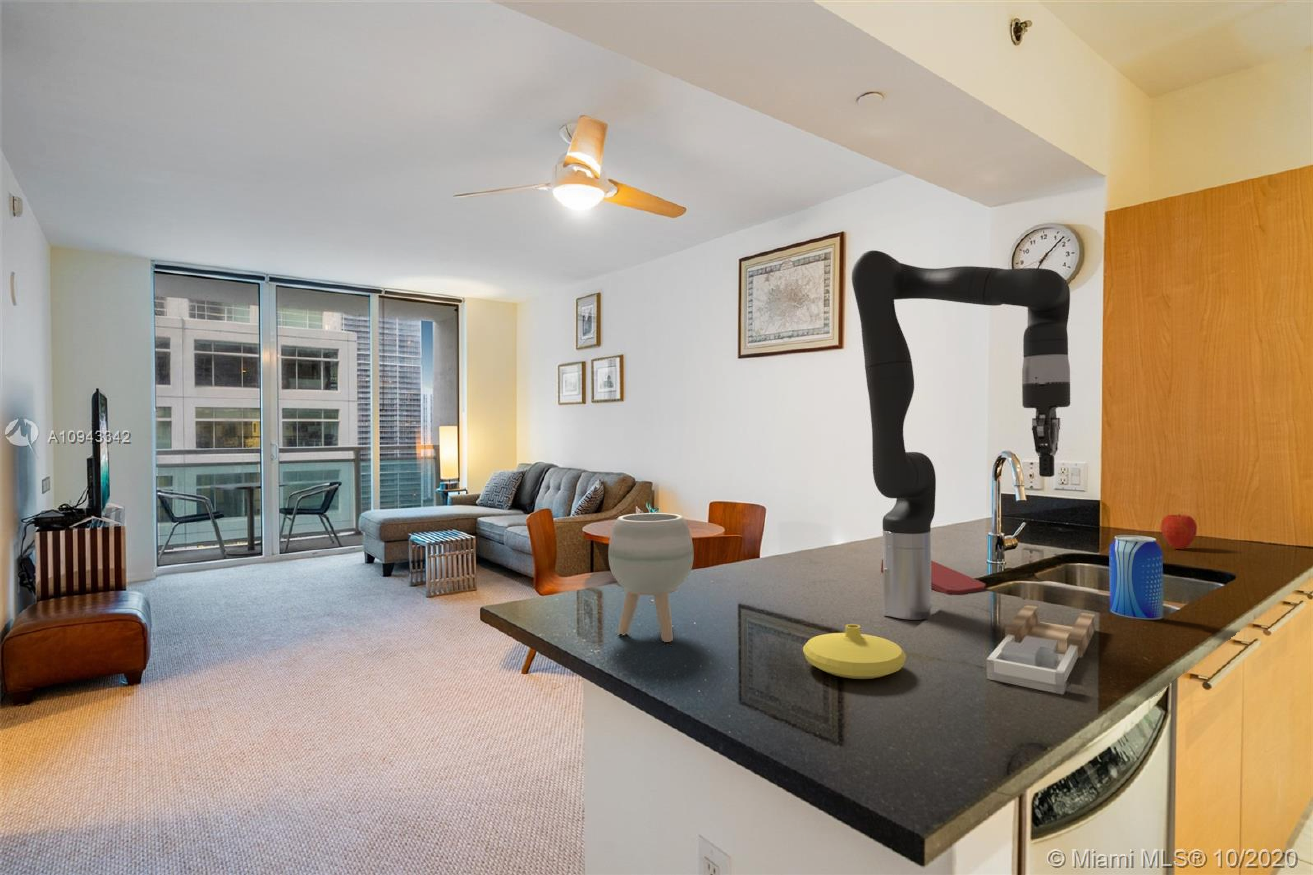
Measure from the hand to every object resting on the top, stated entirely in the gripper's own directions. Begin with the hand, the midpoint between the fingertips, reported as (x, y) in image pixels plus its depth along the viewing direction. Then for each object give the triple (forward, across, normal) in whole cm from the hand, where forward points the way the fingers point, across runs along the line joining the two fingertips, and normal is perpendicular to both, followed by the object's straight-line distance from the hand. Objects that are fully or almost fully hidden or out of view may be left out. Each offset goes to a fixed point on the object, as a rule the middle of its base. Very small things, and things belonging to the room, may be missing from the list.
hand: (1046, 476), depth 120 cm
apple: (+29, -113, +17) cm, 118 cm away
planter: (+29, +43, -59) cm, 78 cm away
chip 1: (+28, +25, 0) cm, 37 cm away
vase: (+29, +38, -21) cm, 52 cm away
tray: (+29, +22, +1) cm, 36 cm away
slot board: (+29, +6, +1) cm, 30 cm away
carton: (+30, -30, -30) cm, 52 cm away
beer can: (+29, -20, +12) cm, 37 cm away
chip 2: (+28, +20, +2) cm, 34 cm away
